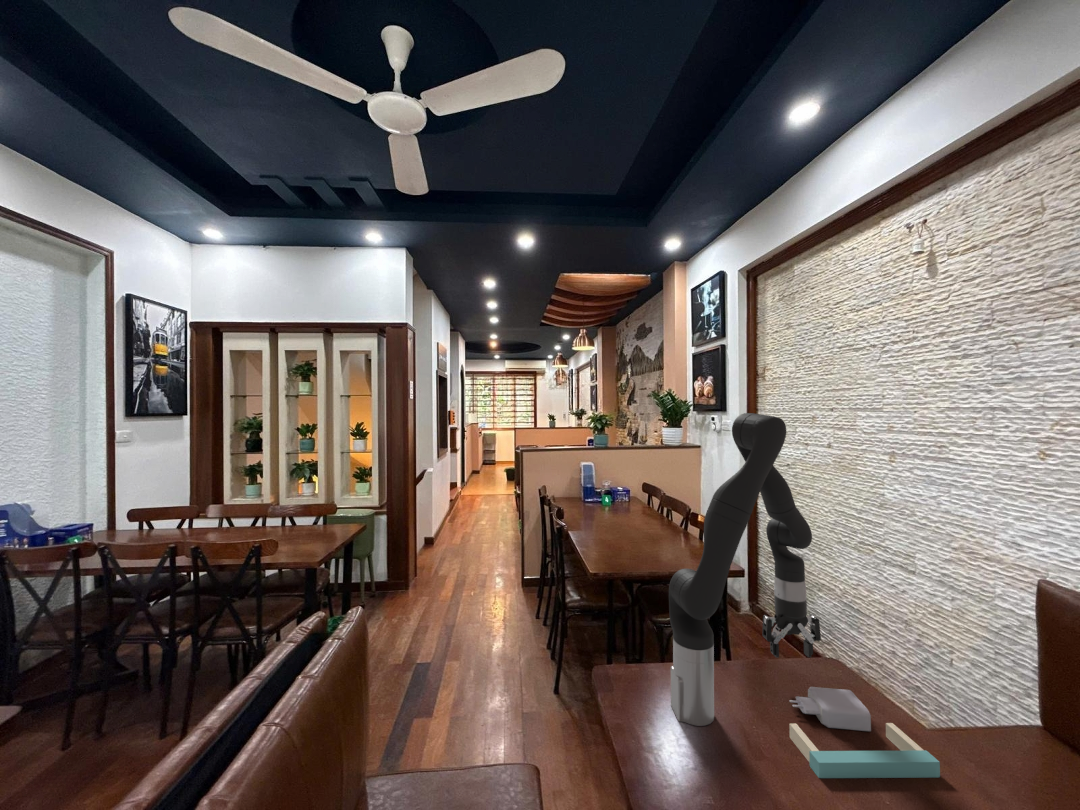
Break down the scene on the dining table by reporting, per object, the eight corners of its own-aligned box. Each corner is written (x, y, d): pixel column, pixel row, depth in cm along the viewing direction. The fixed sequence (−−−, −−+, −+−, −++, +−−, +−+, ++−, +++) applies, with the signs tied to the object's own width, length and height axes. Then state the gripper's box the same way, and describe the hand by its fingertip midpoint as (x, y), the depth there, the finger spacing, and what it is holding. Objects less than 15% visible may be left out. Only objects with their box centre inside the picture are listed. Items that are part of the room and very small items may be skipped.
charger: (783, 701, 111) (849, 707, 108) (799, 727, 102) (871, 734, 99) (783, 682, 111) (848, 687, 109) (799, 706, 102) (870, 712, 99)
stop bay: (819, 778, 87) (818, 762, 87) (787, 737, 98) (787, 723, 98) (940, 777, 87) (939, 761, 87) (894, 736, 98) (894, 723, 98)
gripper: (770, 601, 115) (772, 664, 114) (825, 600, 114) (827, 663, 114) (756, 589, 122) (758, 648, 122) (808, 588, 122) (810, 648, 122)
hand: (791, 655), depth 118 cm, fingers open, 8 cm apart
